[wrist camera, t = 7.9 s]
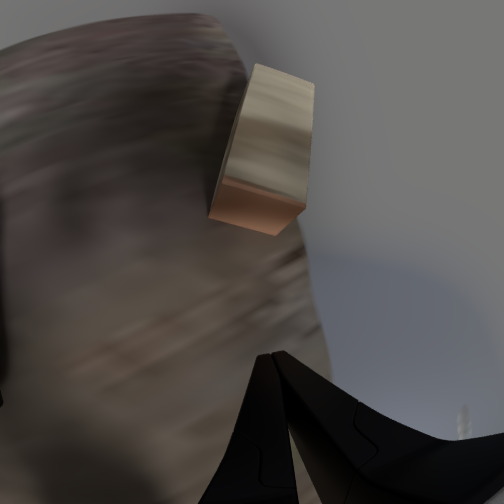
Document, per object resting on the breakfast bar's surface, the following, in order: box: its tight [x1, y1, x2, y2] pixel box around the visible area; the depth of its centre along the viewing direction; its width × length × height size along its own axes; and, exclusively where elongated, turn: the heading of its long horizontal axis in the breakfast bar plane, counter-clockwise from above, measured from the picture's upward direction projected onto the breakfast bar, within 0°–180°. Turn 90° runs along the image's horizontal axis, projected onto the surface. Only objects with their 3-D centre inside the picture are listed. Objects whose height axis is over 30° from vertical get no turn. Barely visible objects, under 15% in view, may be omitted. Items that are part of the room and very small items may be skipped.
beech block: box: [208, 63, 314, 236], centre depth 21 cm, size 5×5×12 cm
